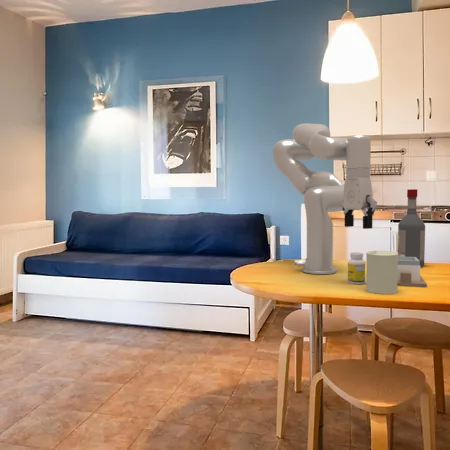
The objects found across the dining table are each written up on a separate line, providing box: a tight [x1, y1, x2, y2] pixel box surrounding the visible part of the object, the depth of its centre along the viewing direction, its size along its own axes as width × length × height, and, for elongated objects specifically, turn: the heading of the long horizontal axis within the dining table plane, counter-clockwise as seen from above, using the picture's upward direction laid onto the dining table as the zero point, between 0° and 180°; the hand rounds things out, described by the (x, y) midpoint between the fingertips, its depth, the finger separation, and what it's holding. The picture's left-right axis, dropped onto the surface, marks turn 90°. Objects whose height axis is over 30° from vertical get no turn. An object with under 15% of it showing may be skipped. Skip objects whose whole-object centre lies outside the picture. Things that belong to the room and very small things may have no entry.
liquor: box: [397, 189, 426, 268], centre depth 175 cm, size 9×9×30 cm
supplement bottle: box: [347, 251, 366, 285], centre depth 146 cm, size 5×5×10 cm
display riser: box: [397, 257, 428, 288], centre depth 148 cm, size 12×16×8 cm
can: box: [365, 250, 399, 295], centre depth 135 cm, size 9×9×12 cm
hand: (358, 227), depth 145 cm, fingers open, 9 cm apart
